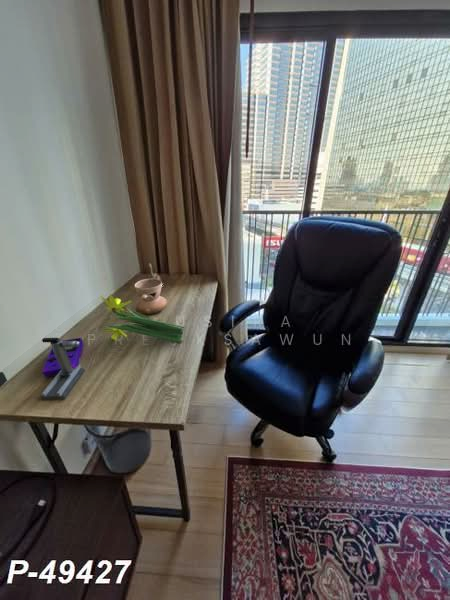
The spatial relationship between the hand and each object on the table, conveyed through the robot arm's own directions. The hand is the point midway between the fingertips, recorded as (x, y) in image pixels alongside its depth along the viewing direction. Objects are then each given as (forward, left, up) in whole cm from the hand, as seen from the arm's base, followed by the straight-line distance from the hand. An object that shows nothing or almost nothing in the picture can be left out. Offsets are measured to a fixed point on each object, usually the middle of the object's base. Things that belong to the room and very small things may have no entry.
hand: (2, 376), depth 60 cm
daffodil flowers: (+21, +40, -17) cm, 48 cm away
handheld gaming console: (-4, +25, -17) cm, 31 cm away
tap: (+4, +17, -15) cm, 23 cm away
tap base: (+2, +14, -17) cm, 22 cm away
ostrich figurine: (+16, +86, -17) cm, 89 cm away
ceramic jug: (+18, +63, -17) cm, 68 cm away
